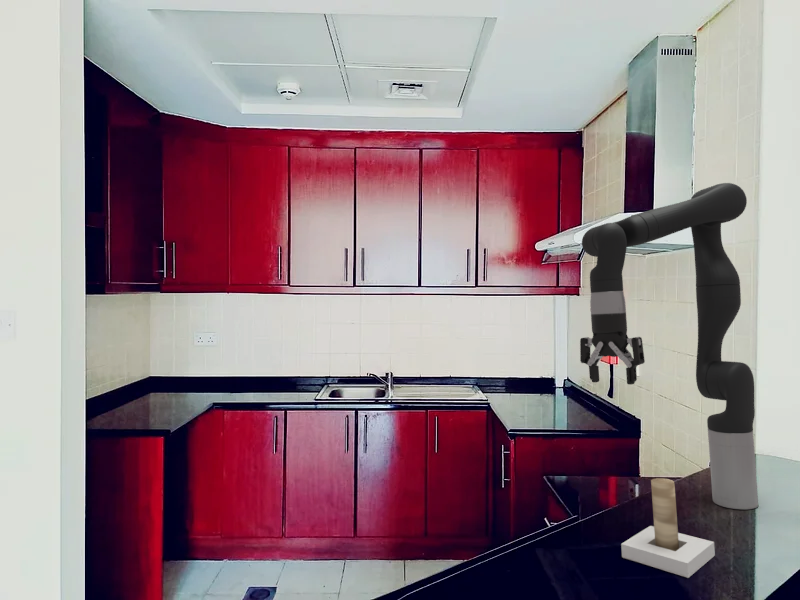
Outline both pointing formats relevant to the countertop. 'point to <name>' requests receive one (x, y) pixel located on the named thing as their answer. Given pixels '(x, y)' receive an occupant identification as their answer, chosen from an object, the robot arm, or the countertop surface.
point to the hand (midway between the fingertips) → (612, 383)
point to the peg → (665, 513)
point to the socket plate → (669, 552)
